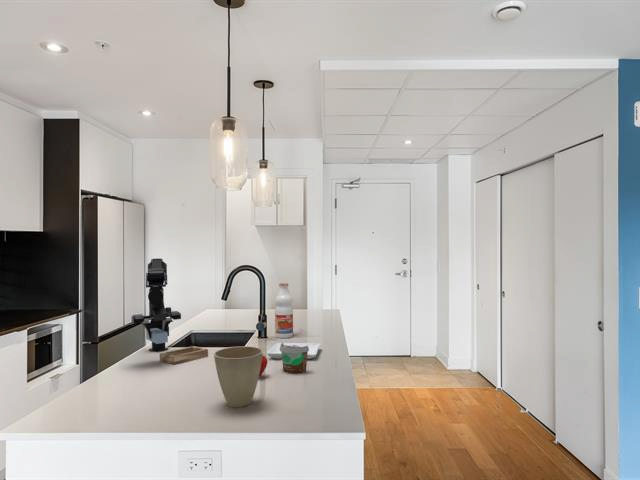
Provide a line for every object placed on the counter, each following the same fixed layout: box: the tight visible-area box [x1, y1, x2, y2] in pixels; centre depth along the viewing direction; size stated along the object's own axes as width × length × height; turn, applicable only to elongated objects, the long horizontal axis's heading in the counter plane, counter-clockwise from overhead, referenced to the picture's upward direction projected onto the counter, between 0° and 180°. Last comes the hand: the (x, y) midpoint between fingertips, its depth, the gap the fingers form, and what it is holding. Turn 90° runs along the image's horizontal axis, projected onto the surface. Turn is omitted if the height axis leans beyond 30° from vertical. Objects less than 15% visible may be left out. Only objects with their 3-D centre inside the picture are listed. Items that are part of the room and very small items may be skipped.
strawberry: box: [259, 353, 268, 378], centre depth 169 cm, size 6×8×10 cm
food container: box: [280, 342, 309, 375], centre depth 175 cm, size 12×6×10 cm, turn 62°
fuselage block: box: [145, 328, 169, 344], centre depth 189 cm, size 12×4×4 cm, turn 40°
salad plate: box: [266, 342, 322, 360], centre depth 202 cm, size 21×21×3 cm
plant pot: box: [213, 345, 264, 408], centre depth 142 cm, size 15×15×16 cm
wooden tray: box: [159, 345, 209, 366], centre depth 198 cm, size 10×17×3 cm, turn 141°
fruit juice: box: [274, 282, 294, 339], centre depth 241 cm, size 9×9×28 cm
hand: (156, 338), depth 189 cm, fingers closed on fuselage block, 5 cm apart
